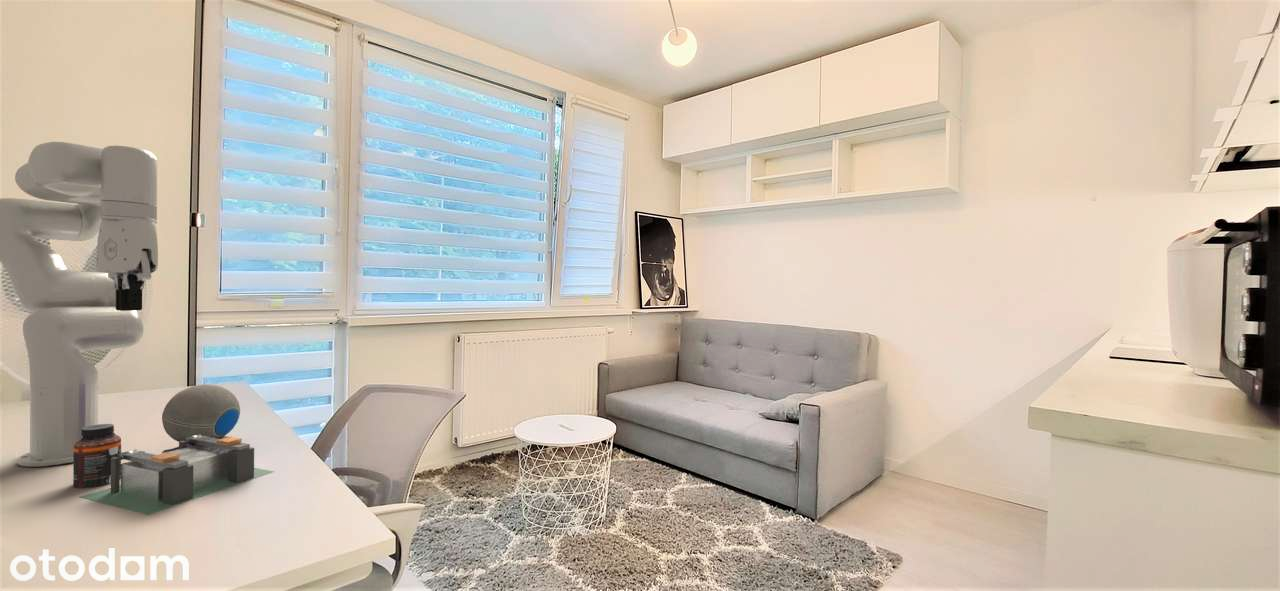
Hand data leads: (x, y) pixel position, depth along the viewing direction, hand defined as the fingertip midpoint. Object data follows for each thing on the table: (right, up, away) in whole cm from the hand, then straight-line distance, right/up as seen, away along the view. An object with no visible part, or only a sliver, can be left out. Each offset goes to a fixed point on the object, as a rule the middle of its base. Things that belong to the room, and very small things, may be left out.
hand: (129, 310), depth 97 cm
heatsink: (+14, -31, -4) cm, 35 cm away
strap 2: (+17, -26, 0) cm, 31 cm away
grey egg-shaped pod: (+1, -32, +15) cm, 36 cm away
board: (+14, -33, -4) cm, 36 cm away
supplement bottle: (-1, -32, -5) cm, 33 cm away
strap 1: (+14, -26, -10) cm, 31 cm away
